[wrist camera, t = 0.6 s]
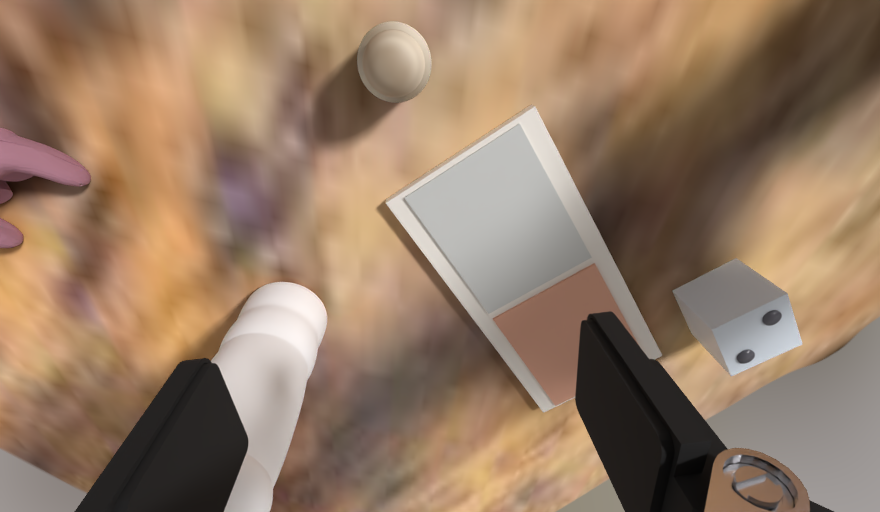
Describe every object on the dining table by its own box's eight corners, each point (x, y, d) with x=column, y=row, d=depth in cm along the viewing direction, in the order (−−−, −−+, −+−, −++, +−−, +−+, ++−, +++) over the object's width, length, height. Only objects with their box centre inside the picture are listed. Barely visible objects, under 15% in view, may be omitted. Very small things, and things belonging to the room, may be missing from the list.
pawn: (405, 9, 28) (402, 1, 22) (441, 70, 30) (448, 79, 24) (351, 49, 29) (334, 52, 23) (389, 106, 31) (383, 124, 25)
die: (735, 257, 38) (788, 294, 33) (751, 304, 41) (803, 345, 35) (671, 290, 39) (712, 331, 34) (691, 333, 42) (732, 377, 36)
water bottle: (255, 344, 40) (53, 736, 17) (240, 278, 36) (-33, 657, 14) (332, 342, 40) (230, 724, 18) (324, 277, 37) (186, 643, 15)
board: (531, 104, 31) (535, 106, 30) (657, 349, 42) (663, 357, 41) (386, 198, 34) (385, 204, 33) (540, 405, 45) (544, 414, 44)
